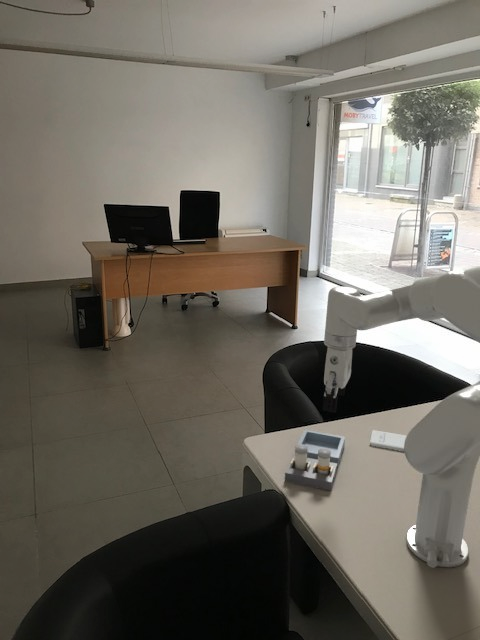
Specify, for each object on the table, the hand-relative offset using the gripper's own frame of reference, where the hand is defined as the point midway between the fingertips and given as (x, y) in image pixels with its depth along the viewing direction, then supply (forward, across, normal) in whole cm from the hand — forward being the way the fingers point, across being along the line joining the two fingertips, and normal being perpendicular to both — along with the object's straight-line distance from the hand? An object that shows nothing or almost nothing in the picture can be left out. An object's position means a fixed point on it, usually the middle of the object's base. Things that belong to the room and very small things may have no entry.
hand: (333, 402), depth 132 cm
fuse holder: (+22, -1, +4) cm, 22 cm away
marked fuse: (+22, -1, +1) cm, 22 cm away
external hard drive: (+22, +25, -14) cm, 37 cm away
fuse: (+22, -2, +7) cm, 23 cm away
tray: (+22, +11, +4) cm, 25 cm away
